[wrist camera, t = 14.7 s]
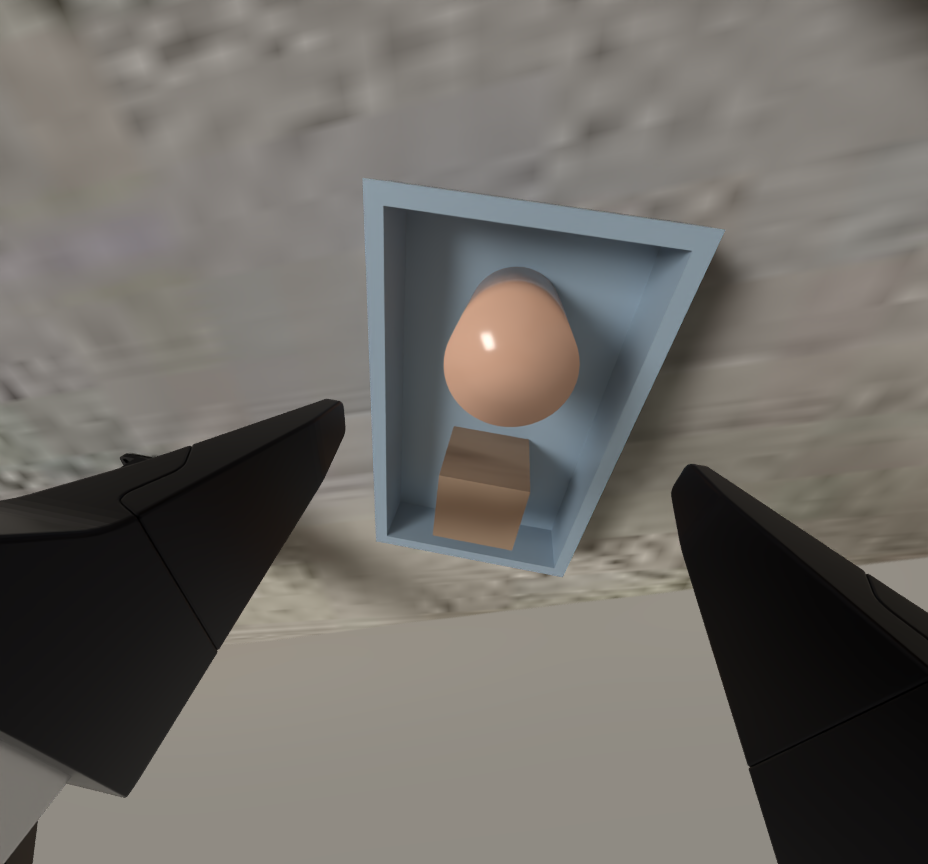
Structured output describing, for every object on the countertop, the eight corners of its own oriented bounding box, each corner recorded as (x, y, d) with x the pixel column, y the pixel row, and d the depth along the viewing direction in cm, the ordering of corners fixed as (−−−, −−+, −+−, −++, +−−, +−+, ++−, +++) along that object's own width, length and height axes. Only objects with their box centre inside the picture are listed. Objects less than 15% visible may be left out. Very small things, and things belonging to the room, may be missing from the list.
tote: (557, 532, 28) (562, 577, 25) (392, 501, 29) (376, 541, 26) (684, 222, 16) (725, 229, 13) (394, 181, 17) (362, 177, 14)
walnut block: (513, 494, 26) (512, 550, 22) (446, 481, 26) (432, 535, 22) (528, 439, 23) (530, 492, 19) (453, 425, 23) (438, 475, 19)
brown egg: (548, 368, 20) (558, 436, 14) (462, 353, 20) (438, 415, 15) (573, 274, 17) (599, 313, 12) (473, 259, 18) (450, 290, 12)
